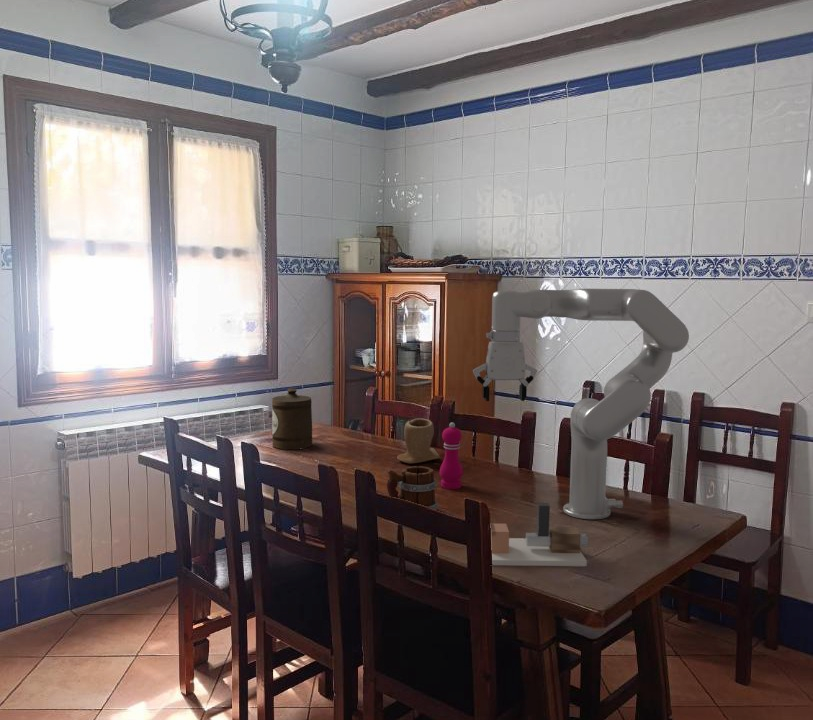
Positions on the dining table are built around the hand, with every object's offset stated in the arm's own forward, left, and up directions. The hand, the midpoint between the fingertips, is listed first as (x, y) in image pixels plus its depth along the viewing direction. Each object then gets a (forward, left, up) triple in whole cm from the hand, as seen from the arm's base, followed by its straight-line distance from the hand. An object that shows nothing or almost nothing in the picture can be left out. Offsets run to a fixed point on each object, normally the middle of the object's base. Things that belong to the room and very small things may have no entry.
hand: (504, 400), depth 200 cm
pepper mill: (+12, -25, -31) cm, 42 cm away
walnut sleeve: (-11, +30, -30) cm, 44 cm away
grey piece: (-9, +30, -29) cm, 43 cm away
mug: (+24, +1, -32) cm, 40 cm away
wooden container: (+69, -77, -32) cm, 108 cm away
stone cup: (+21, -55, -32) cm, 67 cm away
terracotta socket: (+4, +30, -30) cm, 43 cm away
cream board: (-4, +30, -31) cm, 44 cm away
